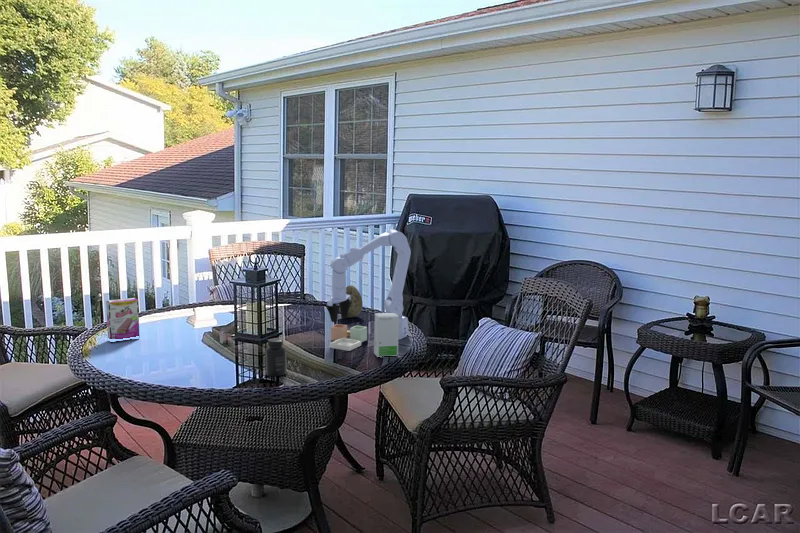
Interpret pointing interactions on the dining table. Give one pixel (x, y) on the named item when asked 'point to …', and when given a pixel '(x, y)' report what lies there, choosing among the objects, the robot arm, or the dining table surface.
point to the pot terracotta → (338, 332)
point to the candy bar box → (122, 318)
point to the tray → (345, 344)
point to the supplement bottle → (275, 358)
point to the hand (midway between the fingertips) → (339, 320)
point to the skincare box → (386, 334)
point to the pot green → (358, 333)
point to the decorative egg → (354, 301)
